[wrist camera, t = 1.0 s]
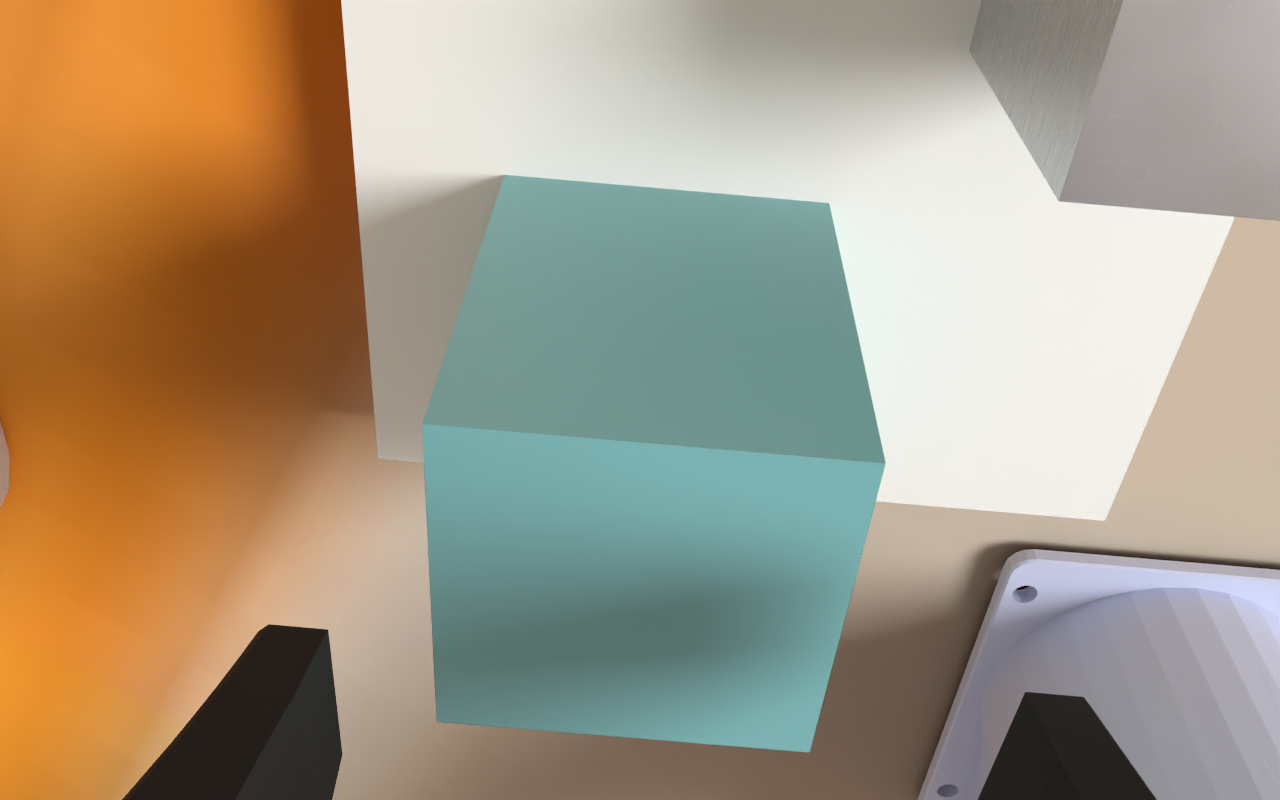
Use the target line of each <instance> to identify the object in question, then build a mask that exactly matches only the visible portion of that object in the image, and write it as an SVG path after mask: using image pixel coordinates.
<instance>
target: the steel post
mask: <svg viewBox="0 0 1280 800" xmlns="http://www.w3.org/2000/svg"><path fill="white" fill-rule="evenodd" d="M969 52H970V53H971V55H972V57H973V58H974V60H975V62H976V63H977V65H978V67H979V69H980V70H981V72H982V74H983V75H984V77H985V79H986V80H987V82H988V84H989V85H990V87H991V89H992V90H993V92H994V94H995V95H996V97H997V99H998V100H999V102H1000V104H1001V106H1002V107H1003V109H1004V111H1005V112H1006V114H1007V116H1008V117H1009V119H1010V121H1011V122H1012V124H1013V126H1014V127H1015V129H1016V131H1017V132H1018V134H1019V136H1020V137H1021V139H1022V141H1023V143H1024V144H1025V146H1026V148H1027V149H1028V151H1029V153H1030V154H1031V156H1032V158H1033V159H1034V161H1035V163H1036V164H1037V166H1038V168H1039V169H1040V171H1041V173H1042V174H1043V176H1044V178H1045V180H1046V181H1047V183H1048V185H1049V186H1050V188H1051V190H1052V191H1053V193H1054V195H1055V196H1056V198H1057V200H1058V201H1060V202H1072V203H1083V204H1094V205H1106V206H1117V207H1129V208H1140V209H1152V210H1163V211H1174V212H1186V213H1197V214H1209V215H1220V216H1232V217H1243V218H1254V219H1266V220H1277V221H1280V0H982V1H981V5H980V9H979V13H978V17H977V21H976V25H975V29H974V33H973V37H972V41H971V45H970V49H969Z"/></svg>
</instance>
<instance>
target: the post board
mask: <svg viewBox="0 0 1280 800" xmlns="http://www.w3.org/2000/svg"><path fill="white" fill-rule="evenodd" d="M981 1H982V0H341V5H342V18H343V30H344V42H345V55H346V67H347V80H348V92H349V105H350V117H351V130H352V142H353V155H354V167H355V180H356V192H357V205H358V217H359V229H360V242H361V254H362V267H363V279H364V292H365V304H366V317H367V329H368V342H369V354H370V367H371V379H372V391H373V404H374V416H375V429H376V441H377V454H378V459H383V460H394V461H406V462H418V463H424V455H423V434H422V423H423V420H424V417H425V413H426V410H427V407H428V404H429V401H430V398H431V395H432V392H433V389H434V386H435V383H436V380H437V377H438V374H439V371H440V368H441V365H442V362H443V359H444V356H445V353H446V350H447V347H448V344H449V341H450V338H451V335H452V332H453V329H454V326H455V323H456V320H457V317H458V314H459V311H460V308H461V305H462V302H463V299H464V296H465V293H466V290H467V287H468V284H469V281H470V278H471V275H472V272H473V269H474V266H475V262H476V259H477V256H478V253H479V250H480V247H481V244H482V241H483V238H484V235H485V232H486V229H487V226H488V223H489V220H490V217H491V214H492V211H493V208H494V205H495V202H496V199H497V196H498V193H499V190H500V187H501V184H502V181H503V178H504V175H514V176H525V177H537V178H548V179H560V180H571V181H583V182H594V183H606V184H617V185H629V186H640V187H651V188H663V189H674V190H686V191H697V192H709V193H720V194H732V195H743V196H754V197H766V198H777V199H789V200H800V201H812V202H823V203H829V204H830V209H831V213H832V218H833V223H834V227H835V232H836V236H837V241H838V246H839V250H840V255H841V260H842V264H843V269H844V273H845V278H846V283H847V287H848V292H849V296H850V301H851V306H852V310H853V315H854V319H855V324H856V329H857V333H858V338H859V343H860V347H861V352H862V356H863V361H864V366H865V370H866V375H867V379H868V384H869V389H870V393H871V398H872V402H873V407H874V412H875V416H876V421H877V426H878V430H879V435H880V439H881V444H882V449H883V453H884V458H885V462H886V464H885V468H884V472H883V476H882V480H881V483H880V487H879V491H878V495H877V499H876V501H879V502H891V503H903V504H915V505H927V506H938V507H950V508H962V509H974V510H986V511H997V512H1009V513H1021V514H1033V515H1045V516H1057V517H1068V518H1080V519H1092V520H1104V521H1105V519H1106V517H1107V515H1108V512H1109V510H1110V508H1111V505H1112V503H1113V501H1114V498H1115V496H1116V494H1117V491H1118V489H1119V487H1120V484H1121V482H1122V480H1123V477H1124V475H1125V473H1126V470H1127V468H1128V466H1129V463H1130V461H1131V459H1132V456H1133V454H1134V452H1135V449H1136V447H1137V445H1138V442H1139V440H1140V438H1141V435H1142V433H1143V431H1144V428H1145V426H1146V424H1147V421H1148V419H1149V417H1150V414H1151V412H1152V410H1153V407H1154V405H1155V403H1156V400H1157V398H1158V396H1159V393H1160V391H1161V389H1162V386H1163V384H1164V382H1165V379H1166V377H1167V375H1168V372H1169V370H1170V368H1171V365H1172V363H1173V361H1174V358H1175V356H1176V354H1177V351H1178V349H1179V347H1180V344H1181V342H1182V340H1183V337H1184V335H1185V333H1186V330H1187V328H1188V325H1189V323H1190V321H1191V318H1192V316H1193V314H1194V311H1195V309H1196V307H1197V304H1198V302H1199V300H1200V297H1201V295H1202V293H1203V290H1204V288H1205V286H1206V283H1207V281H1208V279H1209V276H1210V274H1211V272H1212V269H1213V267H1214V265H1215V262H1216V260H1217V258H1218V255H1219V253H1220V251H1221V248H1222V246H1223V244H1224V241H1225V239H1226V237H1227V234H1228V232H1229V230H1230V227H1231V225H1232V223H1233V220H1234V218H1235V217H1232V216H1220V215H1209V214H1197V213H1186V212H1174V211H1163V210H1152V209H1140V208H1129V207H1117V206H1106V205H1094V204H1083V203H1072V202H1060V201H1058V200H1057V198H1056V196H1055V195H1054V193H1053V191H1052V190H1051V188H1050V186H1049V185H1048V183H1047V181H1046V180H1045V178H1044V176H1043V174H1042V173H1041V171H1040V169H1039V168H1038V166H1037V164H1036V163H1035V161H1034V159H1033V158H1032V156H1031V154H1030V153H1029V151H1028V149H1027V148H1026V146H1025V144H1024V143H1023V141H1022V139H1021V137H1020V136H1019V134H1018V132H1017V131H1016V129H1015V127H1014V126H1013V124H1012V122H1011V121H1010V119H1009V117H1008V116H1007V114H1006V112H1005V111H1004V109H1003V107H1002V106H1001V104H1000V102H999V100H998V99H997V97H996V95H995V94H994V92H993V90H992V89H991V87H990V85H989V84H988V82H987V80H986V79H985V77H984V75H983V74H982V72H981V70H980V69H979V67H978V65H977V63H976V62H975V60H974V58H973V57H972V55H971V53H970V52H969V49H970V45H971V41H972V37H973V33H974V29H975V25H976V21H977V17H978V13H979V9H980V5H981Z"/></svg>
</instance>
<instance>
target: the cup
mask: <svg viewBox="0 0 1280 800" xmlns="http://www.w3.org/2000/svg"><path fill="white" fill-rule="evenodd" d="M9 474H10V455H9V449H8V444H7V441H6V437H5V434H4V431H3V427H2V424H1V421H0V507H1V505H2V503H3V501H4V499H5V497H6V495H7V493H8V491H9Z"/></svg>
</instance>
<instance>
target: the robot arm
mask: <svg viewBox="0 0 1280 800" xmlns="http://www.w3.org/2000/svg"><path fill="white" fill-rule="evenodd" d="M1021 586H1029V587H1027V588H1025V589H1021V590H1016V589H1017V588H1019V587H1021ZM341 757H342V749H341V740H340V731H339V722H338V714H337V705H336V696H335V687H334V678H333V670H332V661H331V652H330V643H329V635H328V630H325V629H314V628H302V627H291V626H280V625H267V626H266V627H264V628H263V629H261V630H260V631H258V633H257V634H256V636H255V637H254V638H253V640H252V641H251V642H250V644H249V645H248V646H247V648H246V649H245V650H244V652H243V653H242V654H241V656H240V657H239V658H238V660H237V661H236V662H235V664H234V665H233V666H232V668H231V669H230V670H229V672H228V673H227V674H226V675H225V677H224V678H223V679H222V681H221V682H220V683H219V685H218V686H217V687H216V688H215V690H214V691H213V692H212V693H211V695H210V696H209V697H208V698H207V700H206V701H205V702H204V704H203V705H202V706H201V707H200V708H199V710H198V711H197V712H196V713H195V715H194V716H193V717H192V718H191V720H190V721H189V722H188V723H187V724H186V726H185V727H184V728H183V729H182V731H181V732H180V733H179V734H178V735H177V737H176V738H175V739H174V740H173V742H172V743H171V744H170V745H169V746H168V747H167V749H166V750H165V751H164V752H163V753H162V754H161V755H160V757H159V758H158V759H157V760H156V761H155V762H154V764H153V765H152V766H151V767H150V768H149V769H148V771H147V772H146V773H145V774H144V775H143V776H142V777H141V779H140V780H139V781H138V782H137V783H136V784H135V786H134V787H133V788H132V789H131V790H130V791H129V793H128V794H127V795H126V796H125V797H124V798H123V800H332V797H333V793H334V788H335V784H336V779H337V775H338V771H339V766H340V762H341ZM917 800H1280V570H1275V569H1263V568H1251V567H1240V566H1228V565H1216V564H1204V563H1192V562H1180V561H1168V560H1156V559H1145V558H1133V557H1121V556H1109V555H1097V554H1085V553H1073V552H1062V551H1050V550H1038V549H1029V550H1022V551H1019V552H1016V553H1015V554H1013V555H1012V556H1010V557H1009V558H1008V559H1007V561H1006V562H1005V564H1004V566H1003V569H1002V572H1001V574H1000V577H999V580H998V583H997V585H996V588H995V591H994V593H993V596H992V599H991V602H990V604H989V607H988V610H987V612H986V615H985V618H984V621H983V623H982V626H981V629H980V631H979V634H978V637H977V640H976V642H975V645H974V648H973V650H972V653H971V656H970V658H969V661H968V664H967V667H966V669H965V672H964V675H963V677H962V680H961V683H960V686H959V688H958V691H957V694H956V696H955V699H954V702H953V705H952V707H951V710H950V713H949V715H948V718H947V721H946V724H945V726H944V729H943V732H942V734H941V737H940V740H939V743H938V745H937V748H936V751H935V753H934V756H933V759H932V762H931V764H930V767H929V770H928V772H927V775H926V778H925V780H924V783H923V786H922V789H921V791H920V794H919V797H918V799H917Z"/></svg>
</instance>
